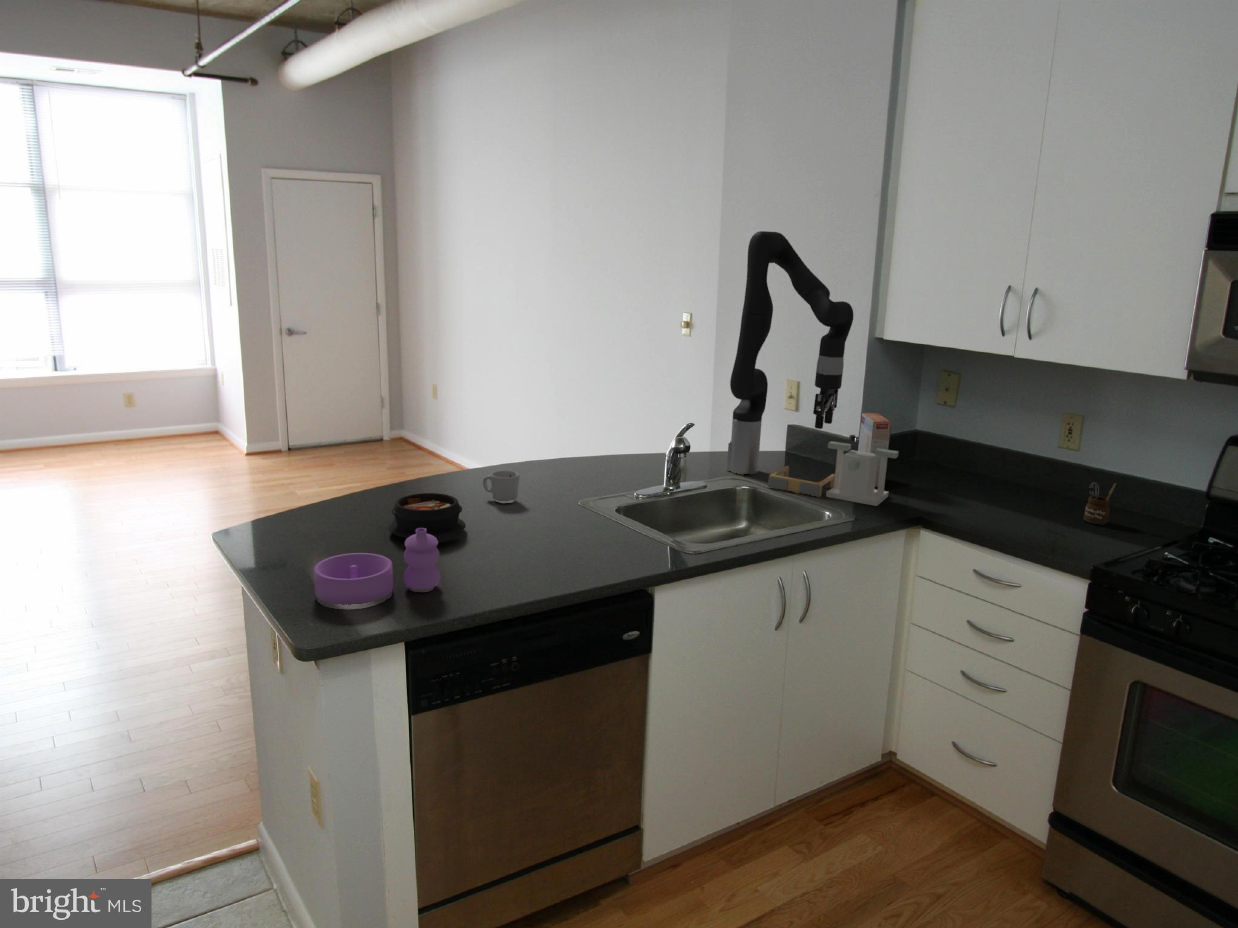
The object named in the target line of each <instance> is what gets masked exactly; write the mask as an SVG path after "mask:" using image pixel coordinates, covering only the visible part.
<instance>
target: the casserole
mask: <svg viewBox="0 0 1238 928" xmlns="http://www.w3.org/2000/svg"><path fill="white" fill-rule="evenodd" d="M462 511H463V506H461V505H460V503H459V500H458V499H457V498H456V497H455V496H452V495H449V494H444V493H437V492H436V493H435V492H434V493H433V492H430V493H429V492H426V493H415V494H410V495H405V496H402V497H400V498H398V499H396V501H395V504H394V506H393V508H392V509H391V514H392V515H393V516H394V519H393V522H391V524H389V526H388V531H389V532H390V533H392V534H393V535H395V536H398V537H400V538H403V539H407V538H408V537H410V536H412V535H414V534H416V529H417V528H426V534H430V535H432V536H434V537H436V539H437V541H438V544H442V543H448V542H452V541H456V540H459V539H461V538H462V537H463V533H464V530H465V529H466V526H467V525H466V523H465V521H463V519H461V518H459V517H460V513H462Z"/></svg>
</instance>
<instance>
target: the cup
mask: <svg viewBox="0 0 1238 928" xmlns="http://www.w3.org/2000/svg"><path fill="white" fill-rule="evenodd" d="M520 476H521V475H520V473H519V472H517V471H514V470H496V471H493V472H491V473H490V475H485V476H484V477H483V480H482V486H483V488H484V490H485V491H486V492H488V493H492V499H495V500H498V501H509V500H515V499H516V500H517V499H518V493H519V486H520V485H519V484H520ZM489 480H490V483H491V488H489V487H488V483H487V482H488V481H489Z"/></svg>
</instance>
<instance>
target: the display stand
mask: <svg viewBox="0 0 1238 928" xmlns="http://www.w3.org/2000/svg"><path fill="white" fill-rule="evenodd" d="M851 448H852V444H851V443H845V442H839V441H828V443H827V449H832V450H837V451H836V460H835V461H836V462H835V471H834V474H835V480H834V487H833V488H832V487H830V489H829V490H827V491H826V495H825V497H827V498H831V499H838V500H840V501H841V500H843V501H847V502H852V503H858V504H865V505H869V506H875V507H877V506H879V505H880V504H881V503H882V502H883V501H884V500H886V499H887V498H888V497H889V491H886V490H885V483H886V473H887V466H888V458H891V459H897V458H898V457H899V454H900V453H899V450H893V449H892V450H890V449H888V450H886V449H879V448H878V449H876V450H875V454H873V453H867V452H860V451H858V450H853V449H851ZM844 452H846V453H845V454H844ZM878 456H881V462H880V471H879V480H878V487H877V489H876V487H875V479H876V470H877V461H878Z"/></svg>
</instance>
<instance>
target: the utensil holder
mask: <svg viewBox="0 0 1238 928" xmlns="http://www.w3.org/2000/svg"><path fill="white" fill-rule="evenodd" d="M1094 484H1095V486H1094V488H1098V489H1097V490H1098V492H1097V490H1095V494H1094V492H1089V494H1090V496H1089V497H1088V500H1087V501H1088V502H1087V503H1086V505H1085V508H1084V509H1085V510H1084V515H1083V521H1084V520H1086V521H1087V522H1090V523H1107V524H1108V521H1109V515H1110V502H1111V501H1110V499H1109V498H1110V496H1111V495H1112V493H1113V492H1114V489H1115V487H1116V485H1117V483H1116V482H1115V483H1113V485H1112V487H1111V489H1110V490H1109V492H1108V496H1107V497H1103V496H1099V493H1100V491H1099V489H1100V487H1099V485H1098V483H1097V482H1092V483H1091V484H1090V485H1089V487H1092V485H1094ZM1091 494H1092V495H1091Z"/></svg>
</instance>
